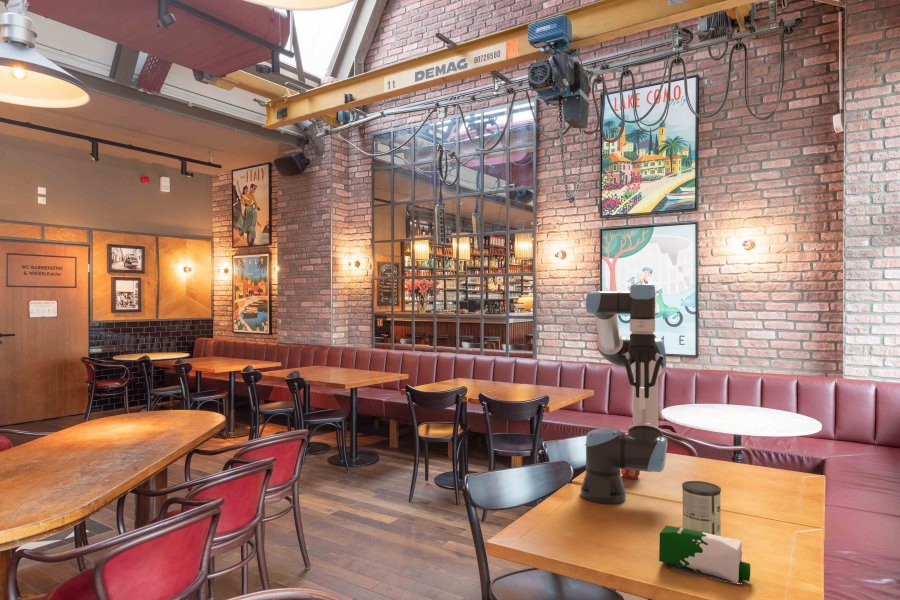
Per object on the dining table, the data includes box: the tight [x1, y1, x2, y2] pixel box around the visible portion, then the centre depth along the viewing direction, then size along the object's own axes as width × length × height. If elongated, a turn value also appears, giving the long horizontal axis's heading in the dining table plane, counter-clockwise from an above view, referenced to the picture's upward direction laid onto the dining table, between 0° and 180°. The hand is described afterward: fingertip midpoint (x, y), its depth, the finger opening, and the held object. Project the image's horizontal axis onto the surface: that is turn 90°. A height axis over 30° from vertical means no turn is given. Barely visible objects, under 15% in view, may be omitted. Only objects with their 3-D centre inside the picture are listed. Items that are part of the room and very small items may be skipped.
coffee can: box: [681, 480, 722, 536], centre depth 161 cm, size 10×10×14 cm
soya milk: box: [658, 525, 751, 583], centre depth 138 cm, size 9×9×20 cm
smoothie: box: [620, 425, 641, 480], centre depth 216 cm, size 8×8×20 cm
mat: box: [670, 564, 744, 584], centre depth 140 cm, size 16×12×1 cm
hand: (642, 408), depth 173 cm, fingers closed
